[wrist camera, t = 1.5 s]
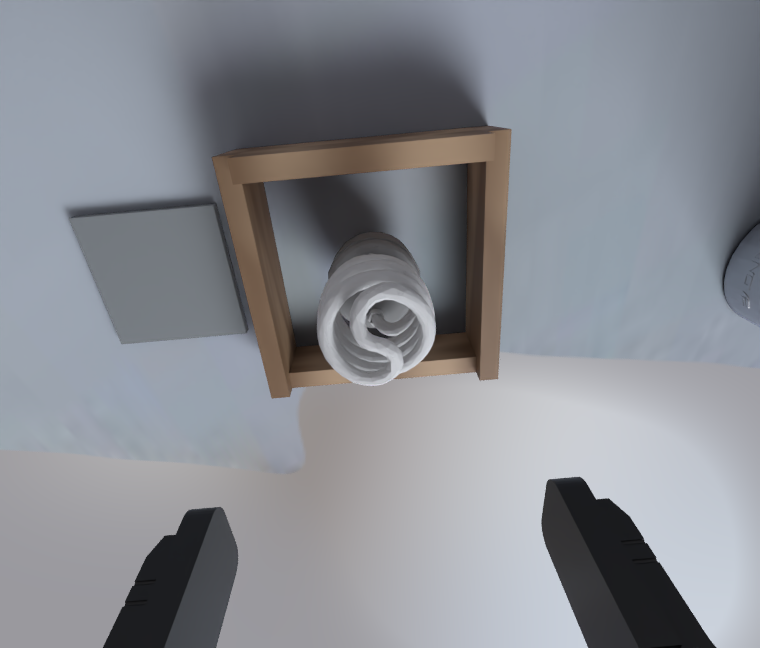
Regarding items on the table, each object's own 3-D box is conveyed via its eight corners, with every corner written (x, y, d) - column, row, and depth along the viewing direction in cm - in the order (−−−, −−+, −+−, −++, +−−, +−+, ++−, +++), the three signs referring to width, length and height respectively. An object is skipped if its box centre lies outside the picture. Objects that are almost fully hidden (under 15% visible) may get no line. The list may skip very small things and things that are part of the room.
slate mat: (216, 203, 27) (212, 205, 26) (248, 329, 31) (246, 333, 30) (74, 216, 27) (68, 218, 26) (125, 340, 31) (121, 344, 30)
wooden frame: (488, 125, 25) (521, 130, 20) (481, 344, 32) (504, 392, 26) (236, 149, 25) (201, 160, 20) (283, 361, 32) (267, 412, 27)
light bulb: (420, 287, 30) (452, 390, 19) (342, 303, 30) (329, 412, 19) (406, 207, 27) (433, 274, 16) (321, 226, 27) (293, 302, 17)
